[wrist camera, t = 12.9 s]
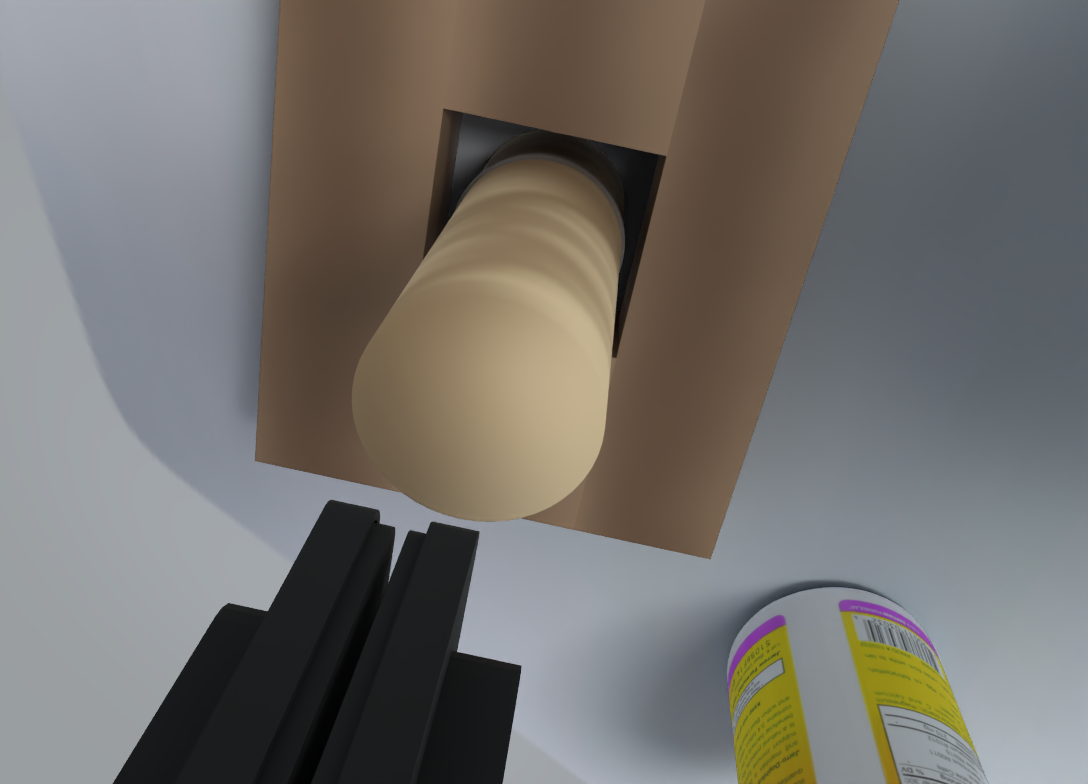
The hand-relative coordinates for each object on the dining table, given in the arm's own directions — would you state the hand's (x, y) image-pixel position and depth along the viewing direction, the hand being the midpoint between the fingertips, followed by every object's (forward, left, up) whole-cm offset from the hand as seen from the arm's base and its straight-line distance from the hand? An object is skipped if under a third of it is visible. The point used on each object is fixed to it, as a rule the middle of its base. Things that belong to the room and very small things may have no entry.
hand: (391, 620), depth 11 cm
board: (0, 0, -17) cm, 17 cm away
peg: (0, 0, -17) cm, 17 cm away
